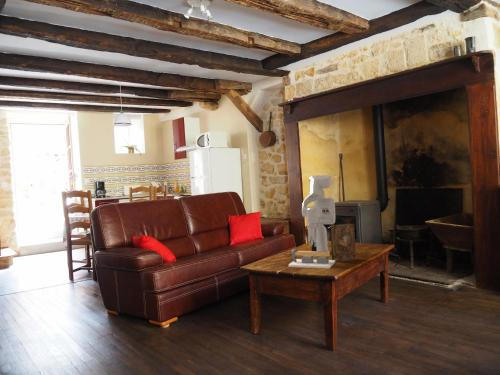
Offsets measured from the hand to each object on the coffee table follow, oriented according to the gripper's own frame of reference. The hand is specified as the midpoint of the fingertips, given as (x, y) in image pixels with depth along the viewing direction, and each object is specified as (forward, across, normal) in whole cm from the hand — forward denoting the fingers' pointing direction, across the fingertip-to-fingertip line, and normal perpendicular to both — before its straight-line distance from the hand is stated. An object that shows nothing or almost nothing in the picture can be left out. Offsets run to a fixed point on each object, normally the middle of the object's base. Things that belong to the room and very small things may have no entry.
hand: (314, 252), depth 285 cm
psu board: (+8, +4, -1) cm, 9 cm away
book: (+8, -14, +18) cm, 24 cm away
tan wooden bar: (+3, +4, -2) cm, 5 cm away
